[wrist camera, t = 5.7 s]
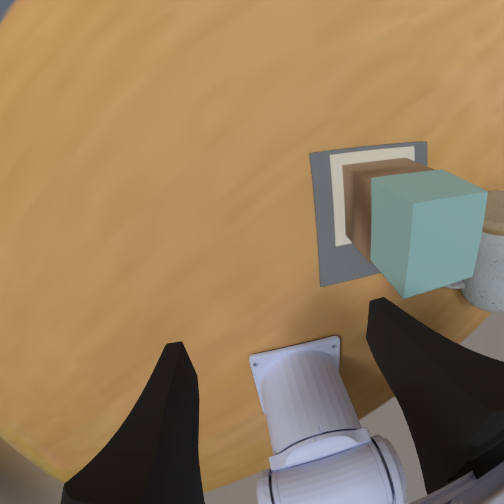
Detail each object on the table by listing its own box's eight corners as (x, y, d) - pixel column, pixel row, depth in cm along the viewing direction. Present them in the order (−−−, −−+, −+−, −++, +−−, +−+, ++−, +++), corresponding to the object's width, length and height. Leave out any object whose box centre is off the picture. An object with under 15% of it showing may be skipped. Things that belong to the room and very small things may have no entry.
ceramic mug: (499, 177, 21) (559, 210, 14) (497, 250, 25) (544, 291, 18) (413, 215, 22) (475, 265, 15) (420, 293, 26) (464, 348, 19)
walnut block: (405, 222, 21) (434, 247, 18) (345, 235, 21) (370, 263, 18) (406, 157, 19) (441, 172, 16) (341, 165, 19) (370, 182, 15)
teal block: (435, 244, 18) (472, 276, 14) (370, 259, 18) (403, 298, 14) (442, 169, 15) (487, 191, 12) (371, 177, 15) (412, 203, 12)
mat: (418, 261, 24) (420, 262, 23) (320, 285, 23) (321, 287, 23) (425, 141, 19) (427, 142, 19) (309, 153, 19) (310, 154, 18)
